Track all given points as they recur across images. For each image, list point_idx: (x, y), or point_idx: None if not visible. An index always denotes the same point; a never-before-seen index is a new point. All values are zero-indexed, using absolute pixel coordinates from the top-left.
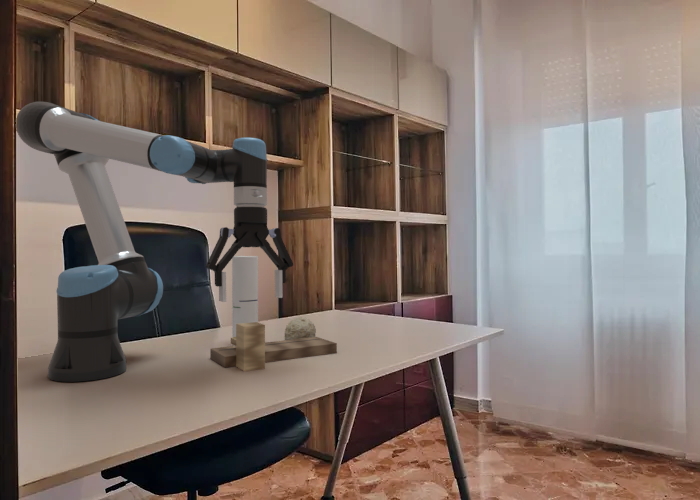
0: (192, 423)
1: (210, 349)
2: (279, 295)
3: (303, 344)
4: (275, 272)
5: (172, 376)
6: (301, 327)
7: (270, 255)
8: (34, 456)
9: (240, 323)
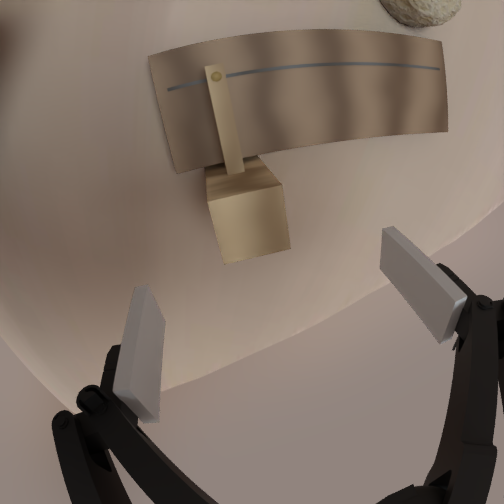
0: None
1: (148, 57)
2: (384, 272)
3: (394, 104)
4: (445, 300)
5: (77, 212)
6: (431, 14)
7: (450, 412)
8: (60, 398)
9: (222, 200)
